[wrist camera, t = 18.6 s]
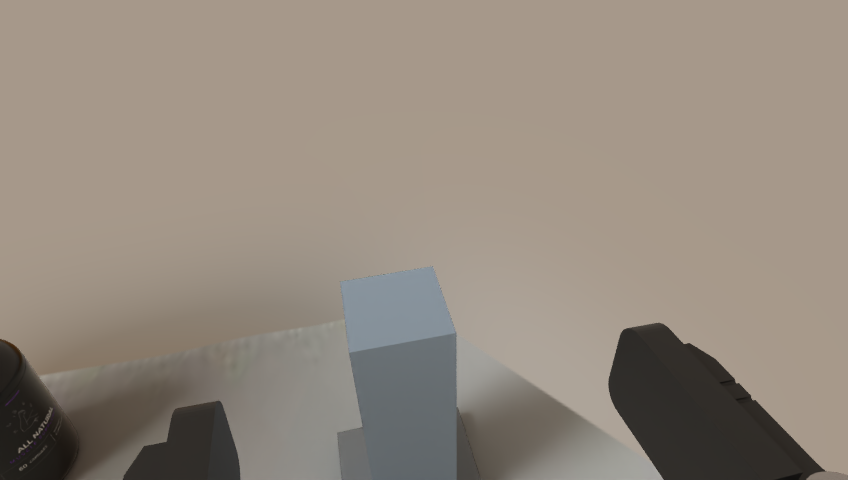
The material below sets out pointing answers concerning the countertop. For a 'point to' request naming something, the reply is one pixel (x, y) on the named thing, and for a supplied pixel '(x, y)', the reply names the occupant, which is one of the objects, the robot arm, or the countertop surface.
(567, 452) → the countertop surface
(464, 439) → the charcoal mat
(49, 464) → the supplement bottle
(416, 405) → the slate block
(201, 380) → the countertop surface
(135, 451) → the countertop surface
